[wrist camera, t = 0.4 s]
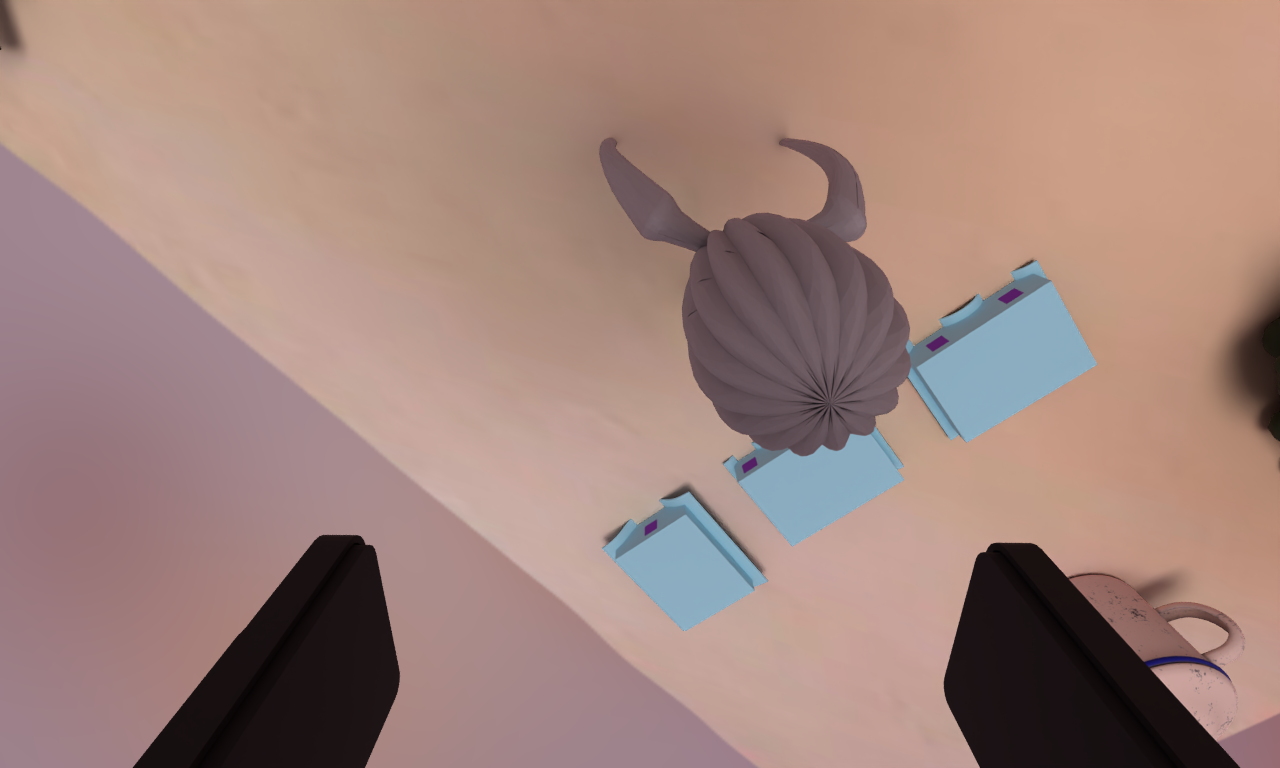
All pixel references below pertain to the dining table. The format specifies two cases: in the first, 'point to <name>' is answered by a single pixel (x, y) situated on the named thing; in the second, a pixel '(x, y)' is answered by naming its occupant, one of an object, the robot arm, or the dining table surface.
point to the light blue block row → (861, 447)
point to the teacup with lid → (1172, 647)
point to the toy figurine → (1276, 342)
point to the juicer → (782, 310)
